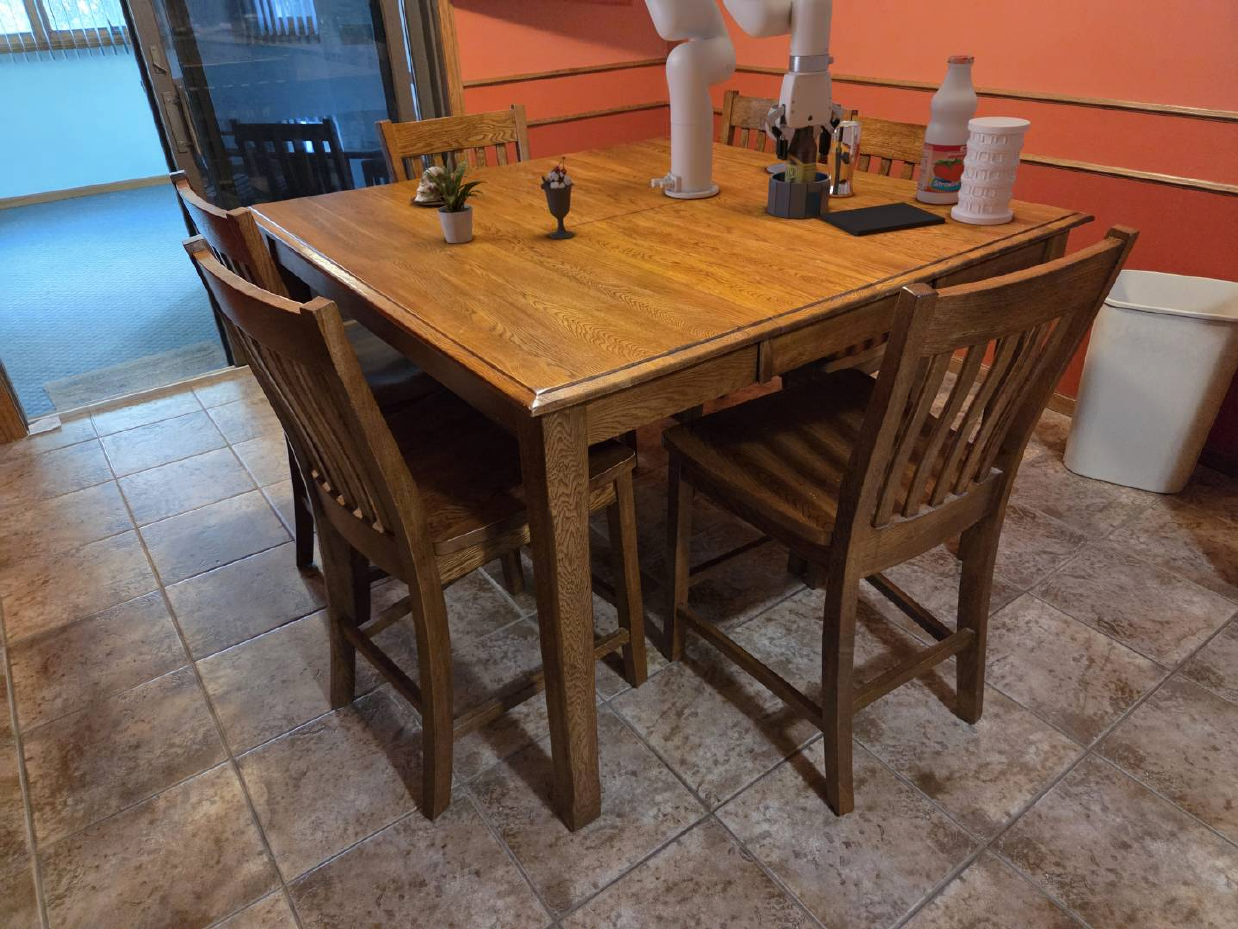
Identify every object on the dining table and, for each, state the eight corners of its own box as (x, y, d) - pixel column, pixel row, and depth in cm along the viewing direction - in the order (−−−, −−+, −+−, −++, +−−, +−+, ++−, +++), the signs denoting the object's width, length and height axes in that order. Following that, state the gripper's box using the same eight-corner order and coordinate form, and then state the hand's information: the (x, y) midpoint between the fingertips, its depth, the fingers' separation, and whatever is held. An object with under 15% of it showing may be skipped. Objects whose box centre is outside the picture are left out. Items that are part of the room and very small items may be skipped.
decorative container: (940, 218, 164) (956, 123, 155) (964, 206, 171) (981, 114, 162) (998, 228, 157) (1018, 129, 148) (1021, 214, 164) (1041, 119, 155)
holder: (785, 221, 167) (787, 186, 164) (757, 207, 178) (759, 174, 174) (838, 213, 170) (842, 179, 167) (808, 200, 181) (811, 167, 177)
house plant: (430, 256, 157) (415, 168, 149) (410, 238, 168) (396, 156, 159) (499, 243, 163) (489, 157, 154) (476, 227, 173) (465, 146, 164)
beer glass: (852, 189, 187) (859, 119, 179) (856, 197, 181) (864, 125, 173) (821, 190, 188) (827, 120, 180) (825, 198, 182) (831, 126, 174)
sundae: (582, 231, 167) (577, 155, 159) (570, 241, 162) (564, 162, 154) (553, 229, 169) (546, 154, 161) (540, 239, 164) (533, 161, 156)
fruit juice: (940, 192, 182) (963, 52, 167) (970, 201, 175) (997, 56, 160) (906, 197, 179) (926, 56, 164) (935, 207, 172) (960, 60, 157)
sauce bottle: (779, 207, 177) (785, 108, 166) (807, 205, 177) (815, 107, 166) (786, 215, 171) (793, 114, 161) (816, 213, 171) (824, 112, 161)
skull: (429, 206, 185) (407, 168, 186) (418, 230, 194) (396, 193, 194) (473, 194, 192) (451, 157, 192) (460, 218, 201) (439, 182, 201)
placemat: (856, 236, 157) (857, 230, 156) (819, 218, 168) (819, 213, 168) (944, 223, 162) (945, 218, 161) (902, 206, 173) (903, 201, 173)
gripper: (837, 59, 164) (830, 149, 173) (759, 67, 160) (756, 158, 169) (857, 62, 158) (849, 154, 167) (777, 70, 154) (773, 164, 163)
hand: (802, 156), depth 168 cm, fingers open, 9 cm apart
